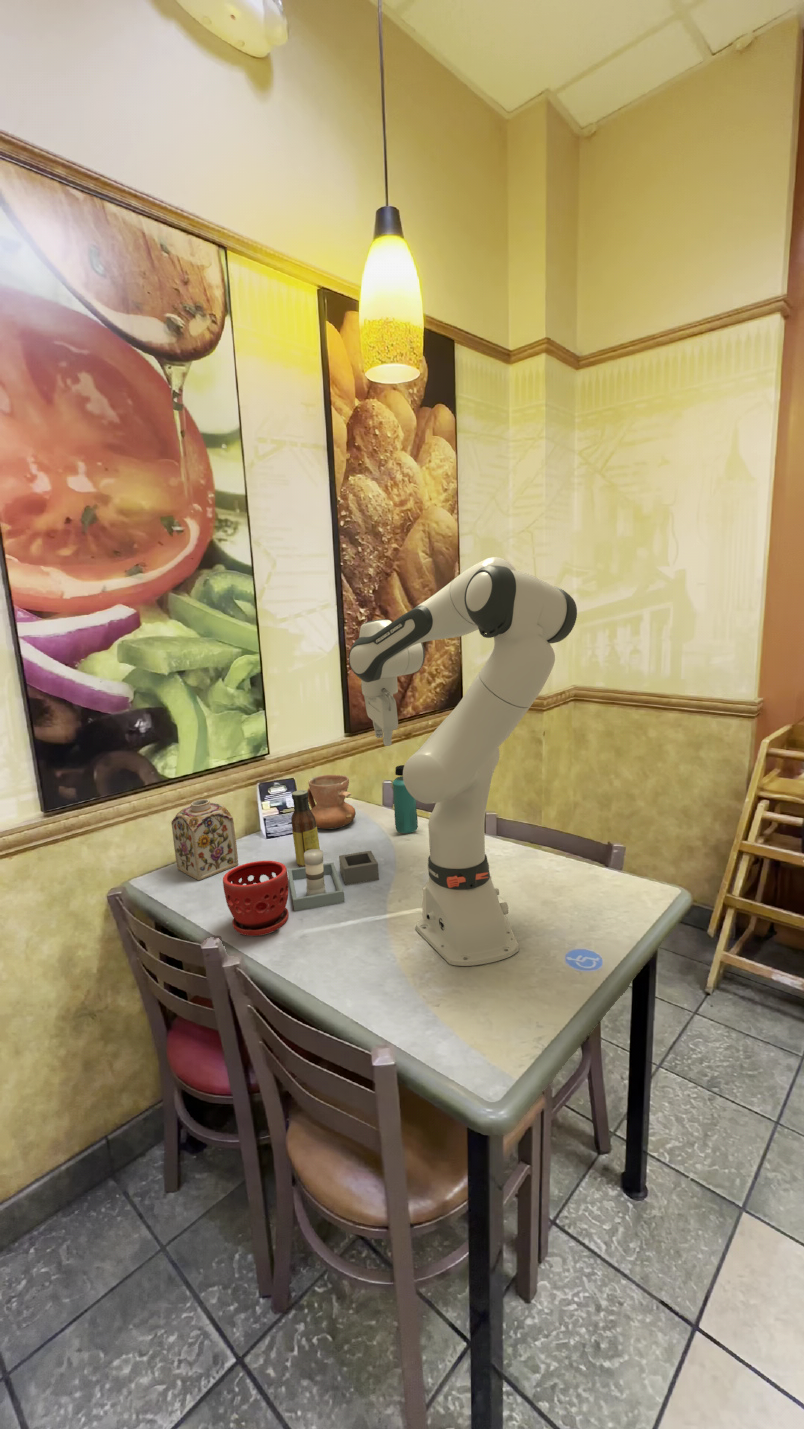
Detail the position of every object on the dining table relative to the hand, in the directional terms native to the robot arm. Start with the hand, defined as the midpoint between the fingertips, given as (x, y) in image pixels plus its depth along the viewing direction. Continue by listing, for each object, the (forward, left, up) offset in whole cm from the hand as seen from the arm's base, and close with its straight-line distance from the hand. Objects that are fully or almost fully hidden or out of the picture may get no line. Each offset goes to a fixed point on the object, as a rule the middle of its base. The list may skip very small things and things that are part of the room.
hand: (383, 741), depth 152 cm
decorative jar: (+12, +46, -31) cm, 57 cm away
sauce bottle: (+3, +21, -31) cm, 38 cm away
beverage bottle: (+14, -8, -31) cm, 35 cm away
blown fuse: (-15, +21, -30) cm, 40 cm away
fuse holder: (-9, +10, -31) cm, 34 cm away
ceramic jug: (+31, +11, -31) cm, 45 cm away
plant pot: (-22, +34, -31) cm, 51 cm away
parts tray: (-13, +21, -31) cm, 40 cm away
